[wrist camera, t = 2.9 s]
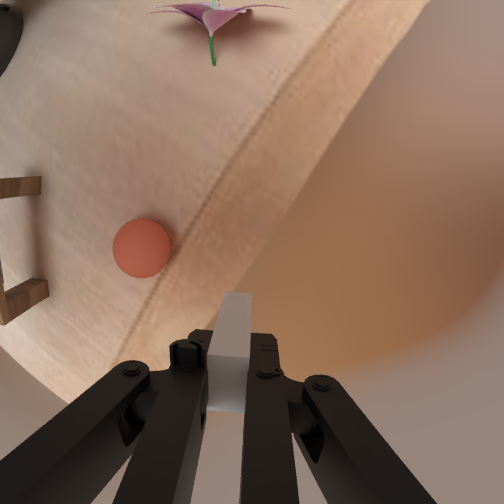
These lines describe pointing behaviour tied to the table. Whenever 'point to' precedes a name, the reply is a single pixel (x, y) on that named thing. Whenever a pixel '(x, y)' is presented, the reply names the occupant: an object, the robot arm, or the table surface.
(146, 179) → the table surface
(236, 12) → the lily
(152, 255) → the ball
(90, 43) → the table surface
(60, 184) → the table surface
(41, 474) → the robot arm
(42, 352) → the table surface
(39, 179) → the bridge
